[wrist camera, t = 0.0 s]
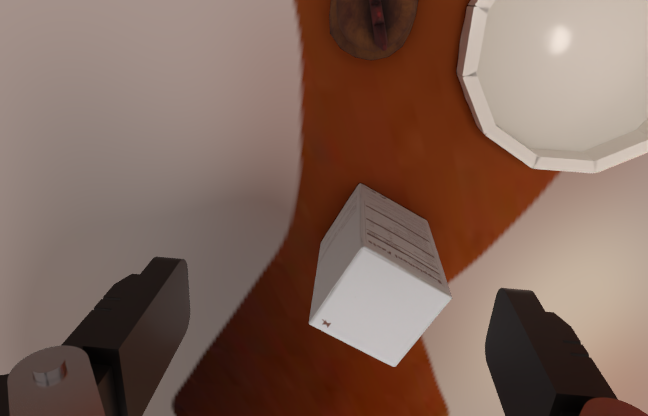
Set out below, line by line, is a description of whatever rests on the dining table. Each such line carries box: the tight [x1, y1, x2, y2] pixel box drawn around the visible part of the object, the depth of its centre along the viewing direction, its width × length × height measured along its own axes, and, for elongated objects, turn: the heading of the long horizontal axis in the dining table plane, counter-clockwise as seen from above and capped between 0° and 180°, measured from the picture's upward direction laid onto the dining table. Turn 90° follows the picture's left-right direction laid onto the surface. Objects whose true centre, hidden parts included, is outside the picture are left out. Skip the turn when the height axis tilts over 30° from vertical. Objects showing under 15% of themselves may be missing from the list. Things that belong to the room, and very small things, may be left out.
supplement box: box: [309, 183, 452, 367], centre depth 38 cm, size 7×7×13 cm
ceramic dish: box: [456, 0, 648, 173], centre depth 35 cm, size 18×18×3 cm
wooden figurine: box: [329, 0, 418, 60], centre depth 29 cm, size 7×6×15 cm
